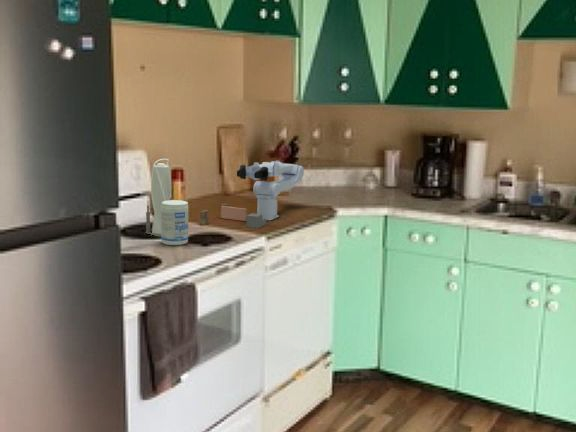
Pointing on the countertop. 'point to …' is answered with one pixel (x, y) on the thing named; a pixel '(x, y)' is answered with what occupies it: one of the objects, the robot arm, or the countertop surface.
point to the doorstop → (255, 221)
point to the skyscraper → (158, 195)
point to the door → (234, 213)
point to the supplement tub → (174, 222)
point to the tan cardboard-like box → (206, 216)
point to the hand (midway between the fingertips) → (246, 174)
